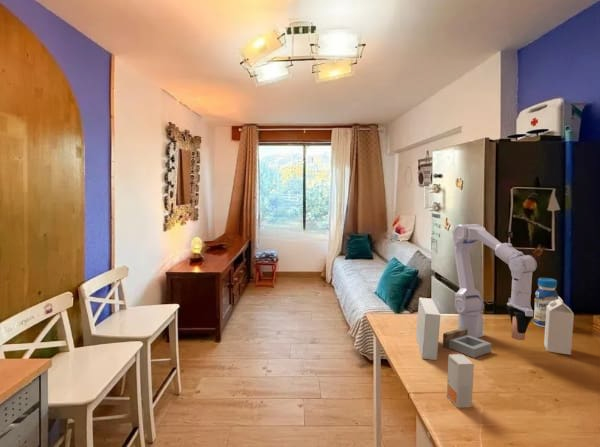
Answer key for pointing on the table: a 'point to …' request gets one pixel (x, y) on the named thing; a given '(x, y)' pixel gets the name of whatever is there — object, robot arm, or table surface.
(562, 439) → the table surface
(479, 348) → the socket block
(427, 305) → the skincare box
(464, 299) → the robot arm
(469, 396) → the skincare box
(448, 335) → the walnut wall
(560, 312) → the milk carton
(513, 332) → the peach egg shape
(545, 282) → the beverage bottle
